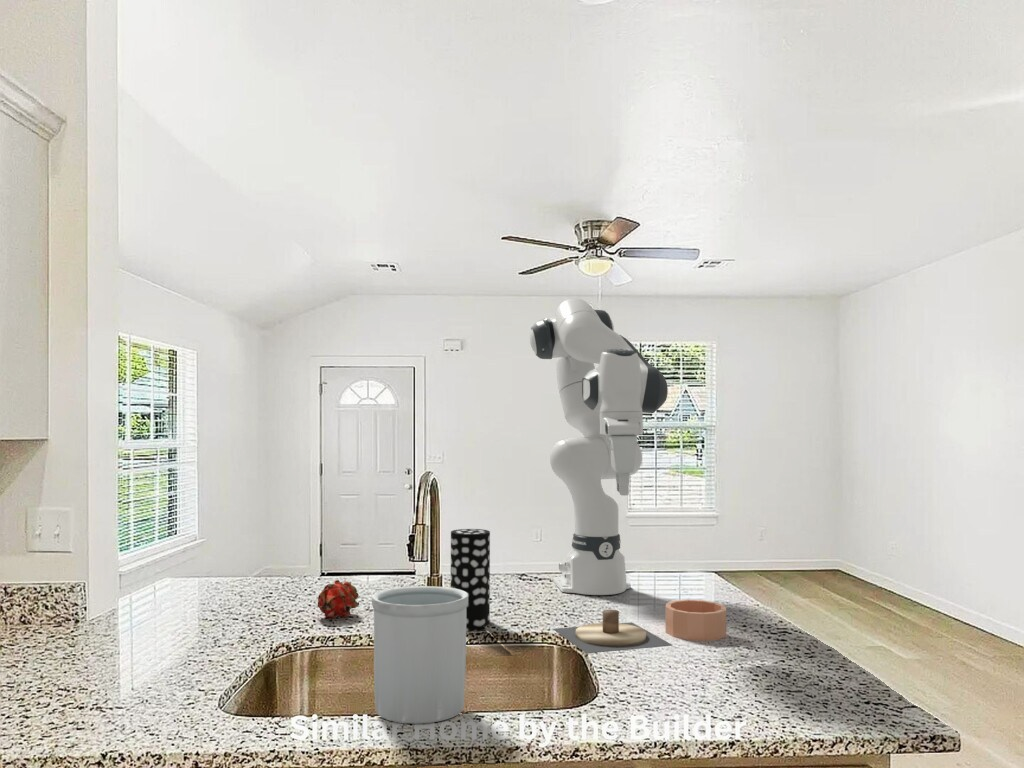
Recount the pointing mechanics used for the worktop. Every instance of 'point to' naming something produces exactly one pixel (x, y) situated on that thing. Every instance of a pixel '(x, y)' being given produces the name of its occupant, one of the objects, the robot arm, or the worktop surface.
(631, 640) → the lid
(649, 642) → the mat
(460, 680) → the utensil holder
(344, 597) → the dragon fruit
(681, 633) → the bowl
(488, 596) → the white-spotted black cylinder
